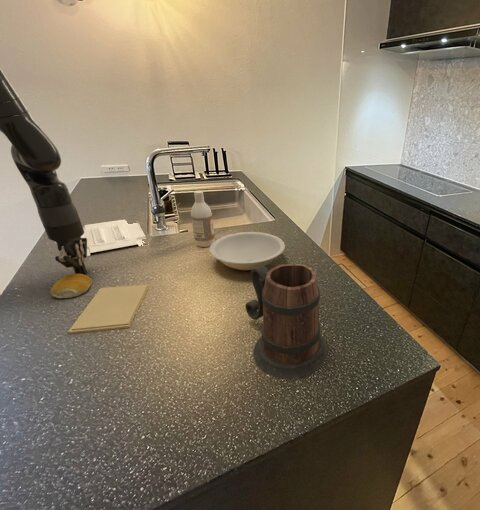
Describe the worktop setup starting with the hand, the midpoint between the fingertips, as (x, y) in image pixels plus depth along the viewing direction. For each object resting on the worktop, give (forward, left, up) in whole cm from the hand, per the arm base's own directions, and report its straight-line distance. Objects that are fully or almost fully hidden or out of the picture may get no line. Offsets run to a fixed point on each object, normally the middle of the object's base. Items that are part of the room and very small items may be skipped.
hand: (82, 275), depth 88 cm
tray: (-3, +31, -1) cm, 31 cm away
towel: (+13, -16, -1) cm, 21 cm away
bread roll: (0, -6, -1) cm, 6 cm away
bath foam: (+31, +21, -1) cm, 37 cm away
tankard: (+54, -36, -1) cm, 65 cm away
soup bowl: (+47, +4, -1) cm, 47 cm away
